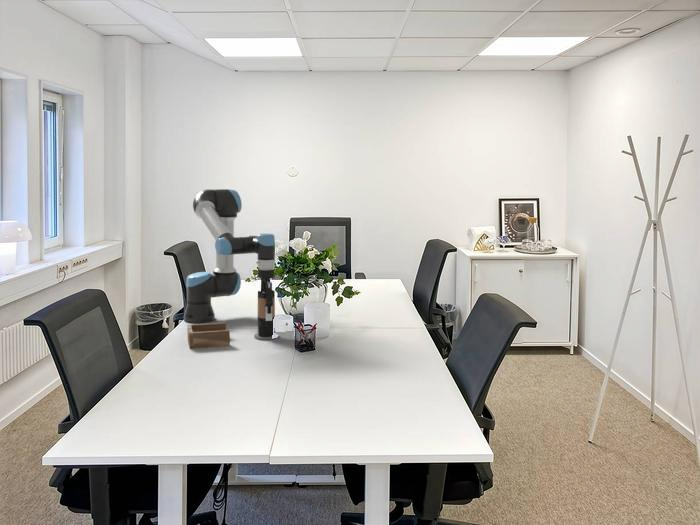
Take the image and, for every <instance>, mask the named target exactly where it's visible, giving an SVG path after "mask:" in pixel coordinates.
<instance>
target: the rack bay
mask: <svg viewBox="0 0 700 525" xmlns="http://www.w3.org/2000/svg"><path fill="white" fill-rule="evenodd" d="M186 325H187V326H186V327H187V330H186V331H187V343H188V347H189V349H205V348H214V347H217V348H218V347H227V346H229V347H230V344H231V341H230V340H231V339H230V338H231V337H230V336H231V335H230V334H231V332H230V331H231V330H230V329H227V322H211V323H209V322H207V323H193V324H186Z"/></svg>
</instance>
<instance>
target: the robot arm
mask: <svg viewBox="0 0 700 525" xmlns="http://www.w3.org/2000/svg"><path fill="white" fill-rule="evenodd" d="M242 205H243V204H242V199H241V196H240V194H239V193H238V191H237V190H235V189H225V188H223V189H220V188H219V189H218V188H217V189H209V188H208V189H204V190H201V191H200V192H198V193H197V194H196V195H195V197H194V199H193V201H192V208H193V212H194V213H195V215H196V216H197V217H198V218H199V219H201V220H202V222H203V223H204V224H205V227H206V228H207V229H208V231H209V233H210V234H211V236H212V238H214V240H215V242H214V248H215V252H216V253H215V254H216V255H215V256H216V257H215V259H216V260H215V267H214V268H213V270H212V274H211V272H210V271H199V272H198V271H197V272H195V273H191V274H188V275H187V277H186V284H185V285H186V286H185V287H186V307H185V311H184V314H183V321H184V322H186V323H190V324H191V323H193V324H204V323H209V322H212V321H215V319H216V314H215V311H214V309H213V306H212V298H220V297H230V296H235V295H237V293H238V292H239V291H240V288H241V284H242V278H241V274H240V273H239V272H237V269H236V268H235V267H234V258H235V256H234V255H244V254H245V255H247V254H257V261H256V264H257V268H258V269H257V278H259V279H260V291H264V292H265V298H266V305H265V307H266V321H272V306H273V296H272V290H273V282H272V281H271V279H275V277H276V275H275V276H274V270H275V268H276V258H275V257H276V240H275V238H276V237H275V234H273V233H268V232H267V233H258V234H257V235H248V236H238V237H236V236H234V235H235V230H234V229H235V225H234V224H235V220H236V218H238V213H240V212H241V211H242V209H243V208H242V207H243V206H242ZM273 268H274V270H273Z"/></svg>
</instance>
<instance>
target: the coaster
mask: <svg viewBox="0 0 700 525" xmlns="http://www.w3.org/2000/svg"><path fill="white" fill-rule="evenodd" d="M253 337H254V339H256V340H259V341H272V337H260V336H259V335H258V332H257V333H255V334H254V336H253Z"/></svg>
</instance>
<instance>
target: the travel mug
mask: <svg viewBox="0 0 700 525" xmlns="http://www.w3.org/2000/svg"><path fill="white" fill-rule="evenodd" d="M275 293H276V292H275V290H274V289H272V296H273V306H272V321H266V307H265V305H266V298H265V292H264V291H261V290H258V291H257V333H258V335H259V336H260V337H272V335H273V319H274V317H275V318H276V312H275V311H276V308H275V307H276V304H275V303H276V301H275V300H276V298H275V295H276V294H275Z"/></svg>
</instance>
